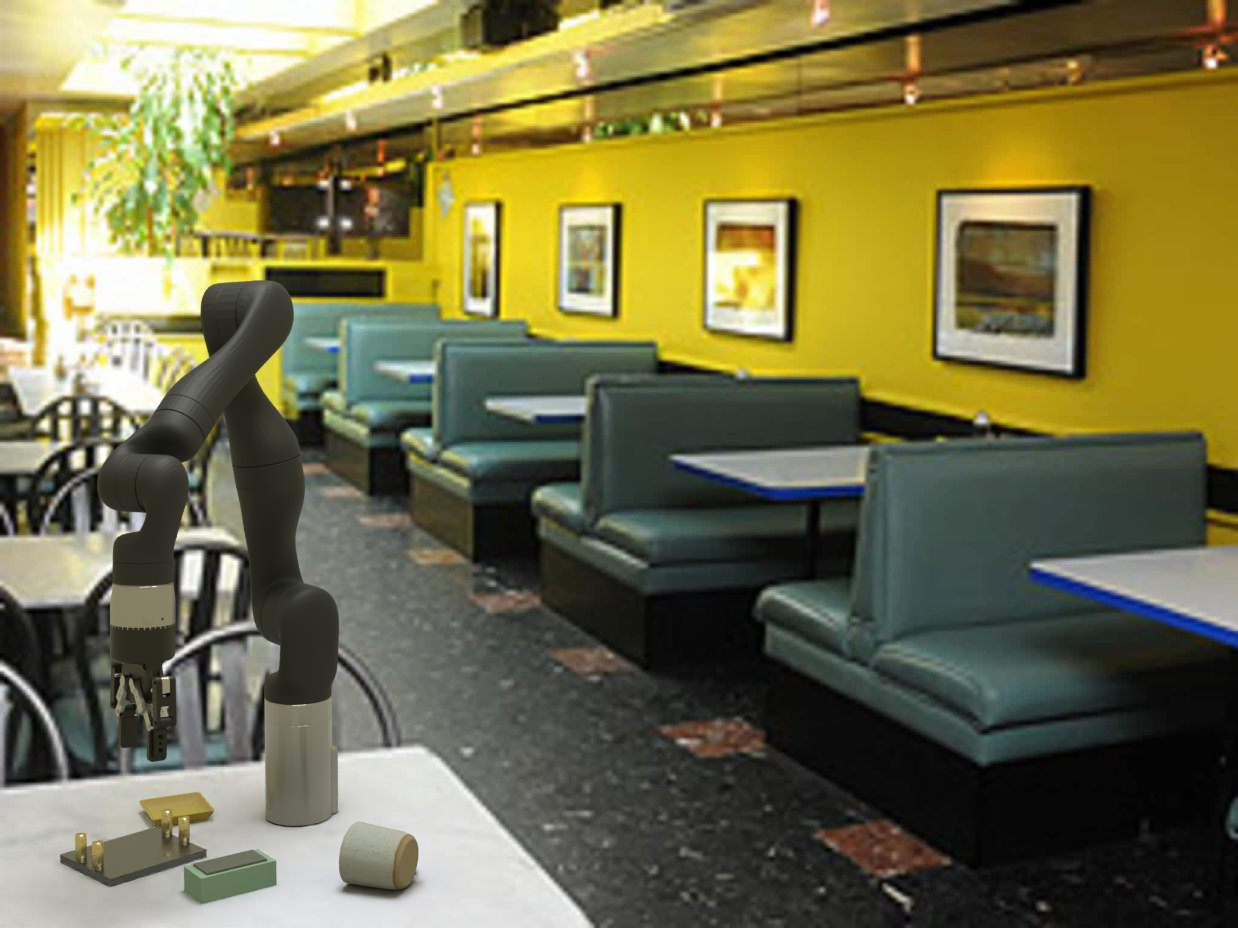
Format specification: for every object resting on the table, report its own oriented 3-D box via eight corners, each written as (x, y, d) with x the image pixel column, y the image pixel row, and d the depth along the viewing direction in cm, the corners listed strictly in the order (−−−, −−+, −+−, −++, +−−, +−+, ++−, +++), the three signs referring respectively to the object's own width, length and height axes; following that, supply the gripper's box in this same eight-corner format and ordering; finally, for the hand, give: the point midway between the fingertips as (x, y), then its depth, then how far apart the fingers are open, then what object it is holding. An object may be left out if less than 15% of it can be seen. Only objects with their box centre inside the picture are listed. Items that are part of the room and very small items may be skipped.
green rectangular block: (258, 875, 206) (257, 846, 205) (276, 887, 202) (276, 857, 201) (184, 893, 199) (183, 863, 199) (201, 906, 196) (201, 876, 195)
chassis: (155, 833, 219) (154, 801, 218) (206, 856, 211) (206, 823, 210) (60, 861, 208) (59, 827, 208) (110, 886, 200) (109, 851, 200)
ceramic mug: (397, 900, 198) (398, 839, 197) (337, 891, 200) (337, 831, 199) (431, 870, 208) (432, 813, 207) (373, 863, 210) (373, 806, 209)
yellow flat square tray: (215, 824, 224) (215, 809, 224) (152, 833, 220) (152, 818, 220) (199, 805, 232) (199, 791, 231) (138, 814, 227) (138, 799, 227)
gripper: (197, 625, 190) (196, 761, 191) (148, 610, 201) (148, 738, 202) (136, 630, 185) (135, 770, 186) (89, 614, 196) (89, 746, 197)
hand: (142, 753), depth 194 cm, fingers open, 8 cm apart
